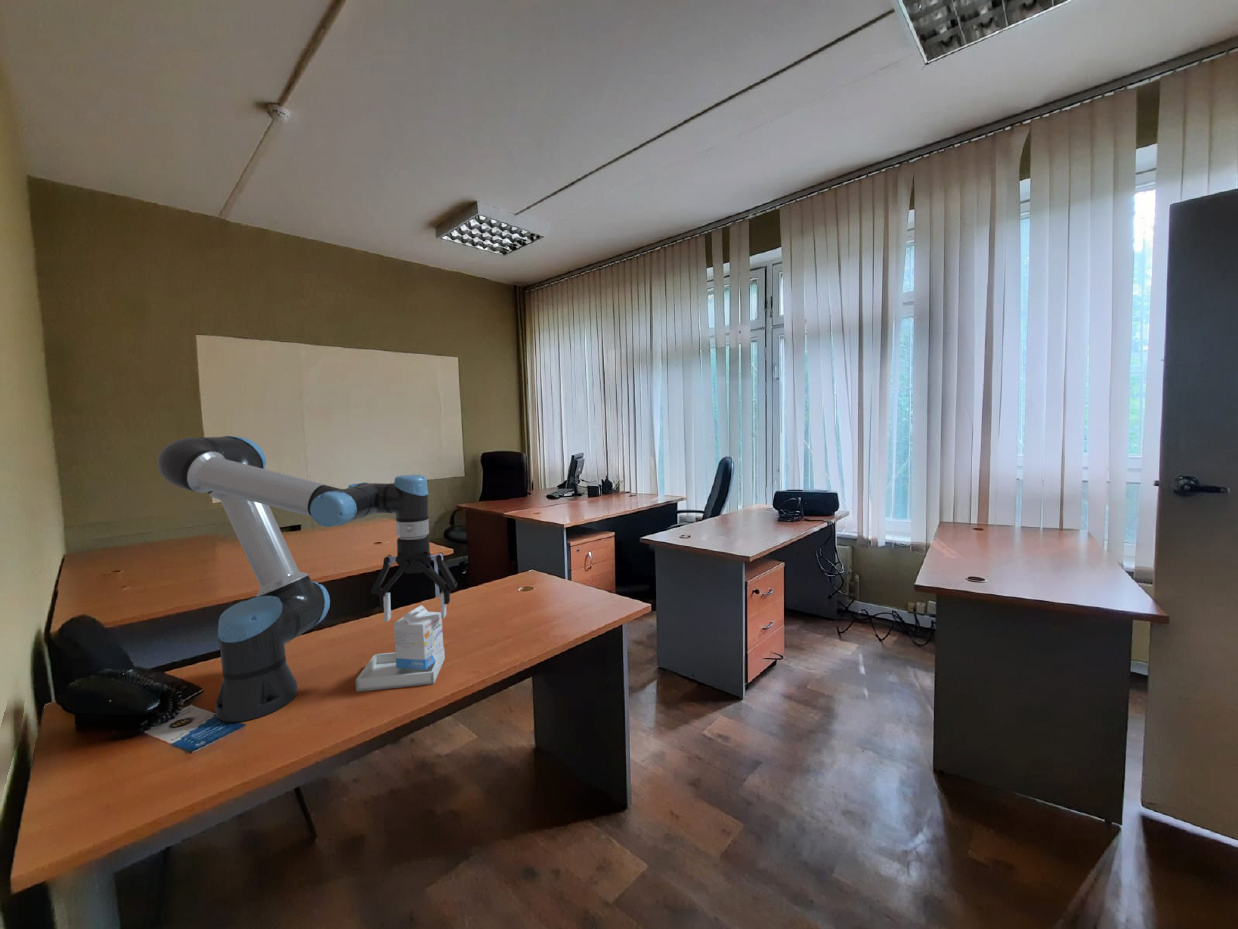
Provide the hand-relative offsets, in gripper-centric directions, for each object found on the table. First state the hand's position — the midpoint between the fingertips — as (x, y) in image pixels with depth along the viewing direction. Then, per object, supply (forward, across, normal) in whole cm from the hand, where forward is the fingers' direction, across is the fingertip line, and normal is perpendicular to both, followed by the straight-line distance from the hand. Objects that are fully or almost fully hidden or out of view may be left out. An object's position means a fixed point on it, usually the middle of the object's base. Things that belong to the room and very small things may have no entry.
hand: (416, 618), depth 121 cm
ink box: (+12, +1, 0) cm, 12 cm away
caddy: (+15, -4, 0) cm, 15 cm away
